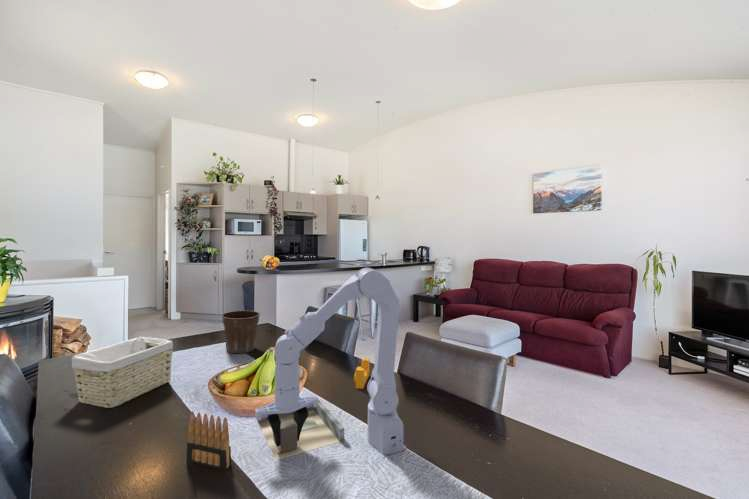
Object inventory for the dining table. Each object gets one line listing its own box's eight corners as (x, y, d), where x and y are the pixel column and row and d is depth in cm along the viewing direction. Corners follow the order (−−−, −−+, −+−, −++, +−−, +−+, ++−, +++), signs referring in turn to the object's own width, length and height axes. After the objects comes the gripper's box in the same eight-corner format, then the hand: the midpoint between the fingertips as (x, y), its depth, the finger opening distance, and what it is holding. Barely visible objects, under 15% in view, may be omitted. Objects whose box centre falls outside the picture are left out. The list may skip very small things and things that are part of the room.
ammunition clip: (231, 468, 82) (231, 415, 81) (226, 474, 80) (226, 419, 80) (192, 459, 85) (192, 408, 84) (186, 464, 83) (185, 412, 83)
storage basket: (108, 412, 106) (107, 362, 106) (68, 404, 111) (68, 355, 111) (176, 381, 129) (175, 340, 129) (140, 375, 134) (140, 335, 134)
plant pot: (267, 348, 168) (268, 313, 167) (237, 358, 154) (237, 319, 153) (244, 342, 176) (244, 308, 176) (213, 351, 163) (213, 314, 162)
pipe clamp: (357, 375, 138) (357, 358, 138) (369, 376, 137) (369, 358, 137) (350, 388, 126) (350, 369, 126) (362, 389, 125) (363, 370, 125)
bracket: (297, 449, 88) (297, 424, 88) (280, 454, 86) (280, 429, 86) (288, 435, 94) (288, 412, 94) (273, 439, 92) (273, 415, 92)
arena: (344, 443, 92) (344, 428, 92) (276, 463, 84) (276, 446, 84) (315, 410, 110) (316, 396, 110) (257, 423, 101) (257, 409, 101)
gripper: (310, 374, 95) (310, 426, 96) (252, 385, 88) (252, 441, 89) (320, 384, 89) (320, 439, 90) (258, 396, 82) (258, 456, 82)
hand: (286, 441), depth 89 cm, fingers closed on bracket, 4 cm apart
